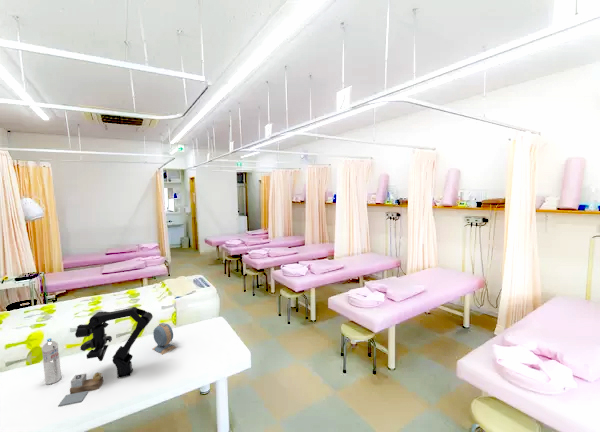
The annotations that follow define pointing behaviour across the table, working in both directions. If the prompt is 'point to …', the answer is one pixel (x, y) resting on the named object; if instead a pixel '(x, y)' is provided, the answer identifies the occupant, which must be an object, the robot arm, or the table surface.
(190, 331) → the table surface
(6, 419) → the table surface
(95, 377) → the lever
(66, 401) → the mat
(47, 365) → the water bottle
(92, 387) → the plane body
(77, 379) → the lever cap
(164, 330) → the alarm clock
